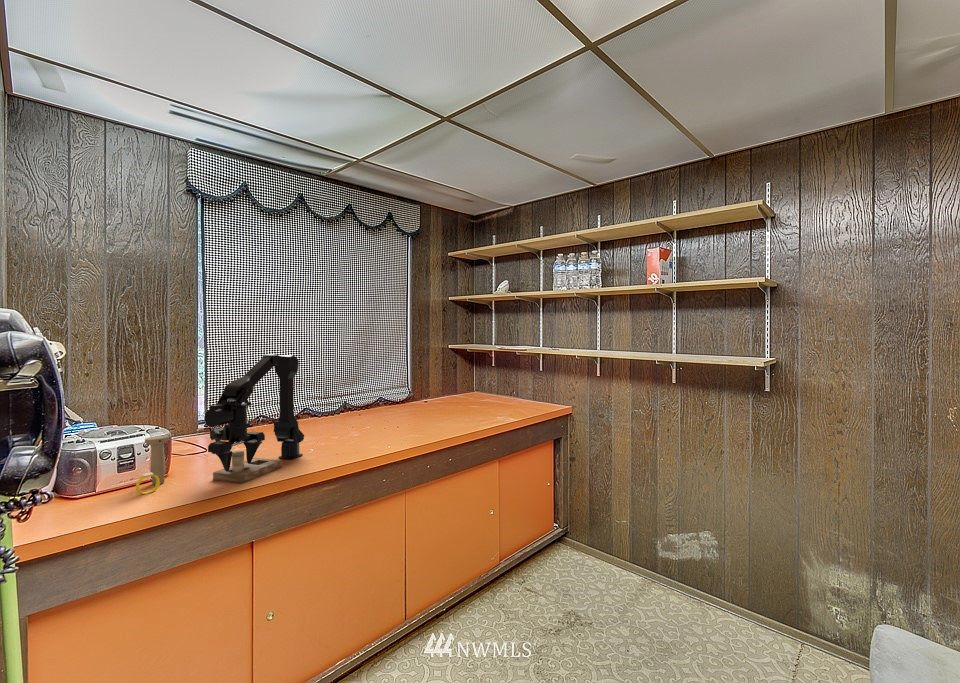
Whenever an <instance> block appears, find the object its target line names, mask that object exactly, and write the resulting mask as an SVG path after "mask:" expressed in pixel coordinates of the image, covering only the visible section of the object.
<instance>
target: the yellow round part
mask: <svg viewBox="0 0 960 683" xmlns="http://www.w3.org/2000/svg"><path fill="white" fill-rule="evenodd" d="M151 476H154V477H155V478H156V482H157V483H156V485H154V487H153V488H152V489H151V490H148V491H145V492H143V491H141V489H140V484H141V483H142V481H143V480H144V479H146V478H151ZM160 485H161V484H160V479H159V478H158V476H156V475H153V473H151V472H146V473H142V474H141V476H140V478H139V479H138V480H137V481H136V483H135V490H136V491H137V493H139V494H142V495H148V494H151V493H154V492H156V491H157V490H158V488H159V487H160Z"/></svg>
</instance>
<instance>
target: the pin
mask: <svg viewBox="0 0 960 683" xmlns="http://www.w3.org/2000/svg"><path fill="white" fill-rule="evenodd" d="M244 461H245V451H244V450H236V451H235V450H234V451H232V457H231V466H232V472H234V473H239V472H242V471H244Z"/></svg>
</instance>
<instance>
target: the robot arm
mask: <svg viewBox="0 0 960 683" xmlns="http://www.w3.org/2000/svg"><path fill="white" fill-rule="evenodd" d="M299 365H300V364H299V358H297V356H295V355H283V354H282V355H278V354H273V353H267V354H264V355H263V356H261V359H259V361H258V362H256V364H254V365H253V366H252V367H251V368H250V369H249V370H248V371H247V372H246V373H244V375H242V376H241V377H239V378H237V379H234V380H232V381H230V383H227V385H225V386H224V388H223V391H222V393H221V395H220V397H219V399H218V400H217V403H216V404H212V405H209V408H208V409H207V410H206V412H205V415H203V416H204V422H205V424H206V426H208V427H209V428H216V427H219V426H223V425H224V428H223V429H221V430H219V429H218V428H216V429H212V430H210V432H209V439H210V440H211V441H213V442H211V443H209V444H208V445H207V451H208V452H207V453H211V454H212V455H216V456H217V457H218V458H219V460H220V463H221V464H222V467H223V469H225V471H229V468H230V466H231V464H232V452H233V450H232V449H233V447H235V446H238V445H240V444H243V445H244V447H245V453H246V461H247V463H251V461H252V459H253V458H255V455H256V453H257V451H258V449H259V447H260V445H261V444H263V441H265V439H266V435H265V433H264V432H263V431H255V430H254V431H253V430H252V431H249V432H248V427H250V426H251V423H250V422H248V407H250V406H252V404H253V403H251V402H250V401H249V399H250V397H251V395H252V394H253V393H254V391H255V390H254V389H255V388H254V387H255V386H256V385H257V384H258V383H259V382H260V381H261V380H262V379H263V378H264V377H265V376H266V375H267V374H268V373H269V372H270V371H271V369H273V368H274V372H275V374H276V375H277V377H278V380H279V416H278V419H277V420H274V421H273V432H274V436H275V437H276V440H277V443H278V442H279V443H280V442H281V448H280V454H281V455H280V456H278V459H284V460H285V459H286V460H293V459H297V458H299V457H302V456H303V453H300V443H301V442H303V441H304V439H305V434H304V433H303V432H302V431H301V430H300V427H299V422H298V420H297V419H296V417H295V414H294V408H295V407H294V402H295V401H294V400H295V399H294V398H295V397H294V395H295V392H294V391H295V390H294V380H295V379H294V378H295V377H296V375H297V373H298V372H299V371H298V370H299Z"/></svg>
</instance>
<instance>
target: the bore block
mask: <svg viewBox="0 0 960 683" xmlns="http://www.w3.org/2000/svg"><path fill="white" fill-rule="evenodd" d="M282 461H283V460H280V459H270V458H260V457H253V459H252V461H251V463H247V460H244V471H242V472H239V473H234V472H232V465H230V468H229V471H225V469H224V468H221V469H219V470H216V471H213V473H212V481H218V480H221V482H226V481H228V483H234V482H237V483H236V484H244V483H246V482H248V481H252V480H254V479H257V478H259V477H262V476H264V475H266V474H269V473H271V472H273V471H276V470H279V469H280V468H282ZM278 468H279V469H278ZM256 477H257V478H256ZM251 479H252V480H251Z"/></svg>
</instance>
